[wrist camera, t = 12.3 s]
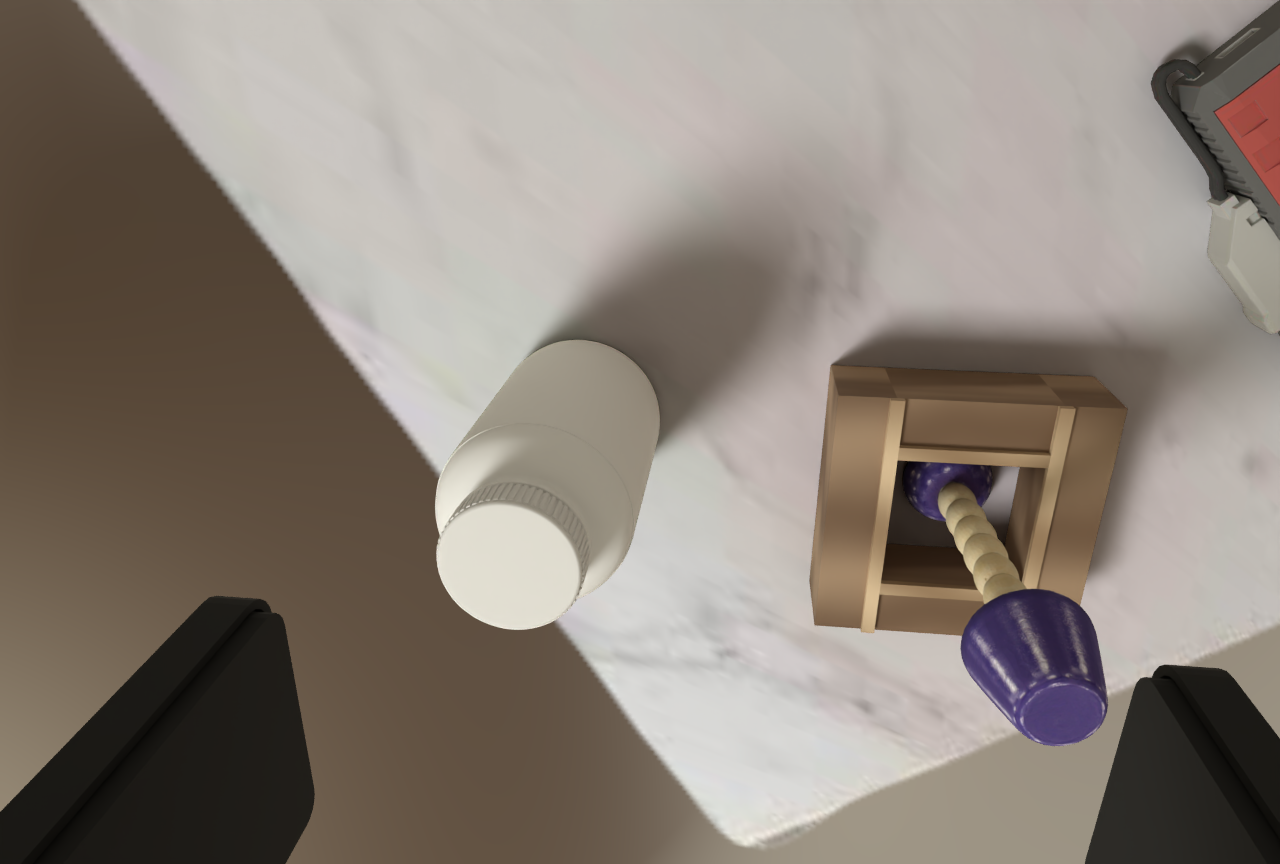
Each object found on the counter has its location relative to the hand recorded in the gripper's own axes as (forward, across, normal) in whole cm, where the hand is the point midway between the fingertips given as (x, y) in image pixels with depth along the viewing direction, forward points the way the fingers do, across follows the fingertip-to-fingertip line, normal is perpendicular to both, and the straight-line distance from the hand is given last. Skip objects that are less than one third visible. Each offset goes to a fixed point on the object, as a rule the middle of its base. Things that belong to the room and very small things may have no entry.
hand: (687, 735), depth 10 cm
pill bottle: (+34, +7, +10) cm, 36 cm away
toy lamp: (+34, -11, +13) cm, 38 cm away
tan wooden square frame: (+33, -11, +13) cm, 37 cm away
